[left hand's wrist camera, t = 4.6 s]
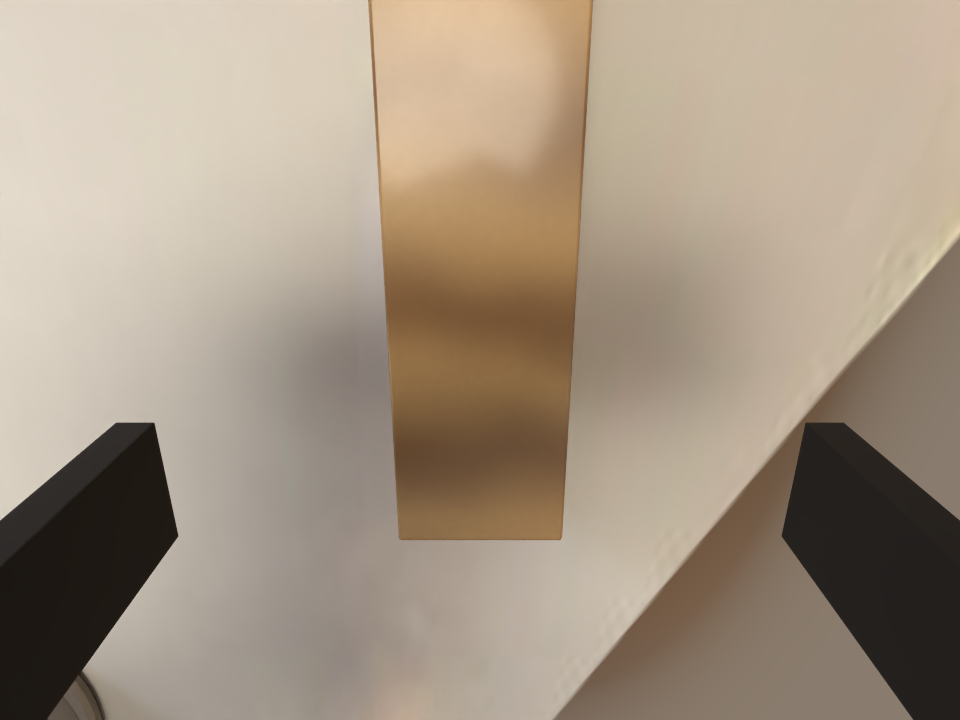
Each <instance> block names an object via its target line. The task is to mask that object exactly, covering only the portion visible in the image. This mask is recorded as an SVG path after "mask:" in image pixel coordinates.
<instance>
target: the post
mask: <svg viewBox="0 0 960 720" xmlns="http://www.w3.org/2000/svg"><path fill="white" fill-rule="evenodd" d="M368 3H369V20H370V38H371V56H372V73H373V91H374V108H375V126H376V143H377V161H378V179H379V196H380V214H381V231H382V249H383V267H384V284H385V302H386V319H387V337H388V355H389V372H390V390H391V407H392V425H393V443H394V460H395V478H396V495H397V513H398V531H399V538H400V540H560V539H561V538H562V527H563V510H564V493H565V475H566V458H567V441H568V424H569V406H570V389H571V372H572V354H573V337H574V320H575V303H576V285H577V268H578V251H579V233H580V216H581V199H582V182H583V164H584V147H585V130H586V113H587V95H588V78H589V61H590V43H591V26H592V9H593V0H368Z"/></svg>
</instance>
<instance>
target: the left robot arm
mask: <svg viewBox="0 0 960 720" xmlns="http://www.w3.org/2000/svg"><path fill="white" fill-rule="evenodd" d="M177 537H178V532H177V527H176V523H175V518H174V513H173V509H172V504H171V499H170V494H169V490H168V485H167V480H166V476H165V471H164V466H163V461H162V457H161V452H160V447H159V443H158V438H157V433H156V428H155V424H154V423H115V424H114V425H113V426H112V427H111V428H109V429H108V430H107V431H106V432H105V433H104V434H102V435H101V436H100V437H99V438H98V439H96V440H95V441H94V442H93V443H92V444H91V445H89V446H88V447H87V448H86V449H85V450H83V451H82V452H81V453H80V454H79V455H77V456H76V457H75V458H74V459H73V460H72V461H70V462H69V463H68V464H67V465H66V466H64V467H63V468H62V469H61V470H60V471H59V472H57V473H56V474H55V475H54V476H53V477H51V478H50V479H49V480H48V481H47V482H45V483H44V484H43V485H42V486H41V487H40V488H38V489H37V490H36V491H35V492H34V493H32V494H31V495H30V496H29V497H28V498H27V499H25V500H24V501H23V502H22V503H21V504H19V505H18V506H17V507H16V508H15V509H13V510H12V511H11V512H10V513H9V514H8V515H6V516H5V517H4V518H3V519H2V520H0V720H102V718H101V714H100V711H99V708H98V705H97V703H96V701H95V698H94V696H93V694H92V693H91V691H90V690H89V688H88V686H87V685H86V684H85V682H84V681H83V680H82V678H81V677H80V676H79V674H80V672H81V671H82V670H83V668H84V667H85V666H86V664H87V663H88V661H89V660H90V659H91V657H92V656H93V654H94V653H95V652H96V650H97V649H98V647H99V646H100V645H101V643H102V642H103V640H104V639H105V638H106V636H107V635H108V633H109V632H110V631H111V629H112V628H113V627H114V625H115V624H116V622H117V621H118V620H119V618H120V617H121V615H122V614H123V613H124V611H125V610H126V608H127V607H128V606H129V604H130V603H131V601H132V600H133V599H134V597H135V596H136V594H137V593H138V592H139V590H140V589H141V587H142V586H143V585H144V583H145V582H146V581H147V579H148V578H149V576H150V575H151V574H152V572H153V571H154V569H155V568H156V567H157V565H158V564H159V562H160V561H161V560H162V558H163V557H164V555H165V554H166V553H167V551H168V550H169V548H170V547H171V546H172V544H173V543H174V542H175V540H176V539H177ZM782 537H783V539H784V540H785V541H786V543H787V544H788V546H789V547H790V548H791V550H792V551H793V553H794V554H795V555H796V557H797V558H798V560H799V561H800V562H801V564H802V565H803V567H804V568H805V569H806V571H807V572H808V574H809V575H810V576H811V578H812V579H813V580H814V582H815V583H816V585H817V586H818V587H819V589H820V590H821V592H822V593H823V594H824V596H825V597H826V598H827V600H828V601H829V603H830V604H831V606H832V607H833V608H834V610H835V611H836V613H837V614H838V615H839V617H840V618H841V620H842V621H843V622H844V624H845V625H846V627H847V628H848V629H849V631H850V632H851V633H852V635H853V636H854V638H855V639H856V640H857V642H858V643H859V645H860V646H861V647H862V649H863V650H864V652H865V653H866V654H867V656H868V657H869V659H870V660H871V661H872V663H873V664H874V665H875V667H876V668H877V670H878V671H879V672H880V674H881V675H882V677H883V678H884V679H885V681H886V682H887V684H888V685H889V686H890V688H891V689H892V691H893V692H894V693H895V695H896V696H897V698H898V699H899V700H900V702H901V703H902V704H903V706H904V707H905V709H906V710H907V712H908V713H909V714H910V716H911V717H912V718H913V720H960V520H958V519H957V518H956V517H955V516H954V515H952V514H951V513H950V512H949V511H948V510H946V509H945V508H944V507H943V506H942V505H941V504H939V503H938V502H937V501H936V500H935V499H933V498H932V497H931V496H930V495H929V494H928V493H926V492H925V491H924V490H923V489H922V488H920V487H919V486H918V485H917V484H916V483H915V482H913V481H912V480H911V479H910V478H909V477H907V476H906V475H905V474H904V473H903V472H901V471H900V470H899V469H898V468H897V467H896V466H894V465H893V464H892V463H891V462H890V461H888V460H887V459H886V458H885V457H884V456H883V455H881V454H880V453H879V452H878V451H877V450H875V449H874V448H873V447H872V446H871V445H869V444H868V443H867V442H866V441H865V440H863V439H862V438H861V437H860V436H859V435H858V434H856V433H855V432H854V431H853V430H852V429H850V428H849V427H848V426H847V425H846V424H845V423H806V424H805V429H804V433H803V438H802V443H801V447H800V452H799V457H798V461H797V466H796V471H795V476H794V481H793V485H792V490H791V494H790V499H789V504H788V509H787V513H786V518H785V523H784V528H783V532H782Z"/></svg>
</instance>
